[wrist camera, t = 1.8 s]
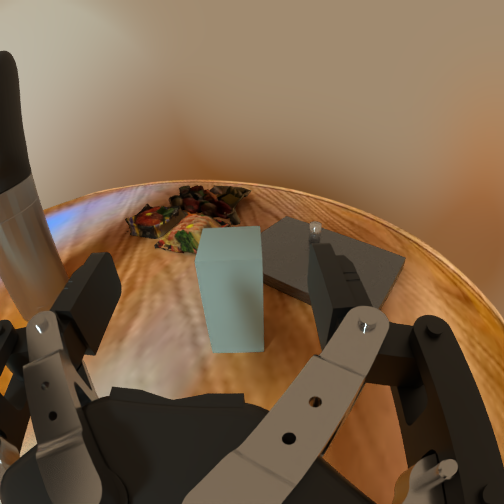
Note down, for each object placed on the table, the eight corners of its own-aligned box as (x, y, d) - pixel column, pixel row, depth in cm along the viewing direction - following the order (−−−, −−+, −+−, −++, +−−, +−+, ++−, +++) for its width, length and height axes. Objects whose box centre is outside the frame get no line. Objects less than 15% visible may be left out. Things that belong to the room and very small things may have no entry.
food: (186, 191, 65) (184, 176, 63) (265, 203, 58) (265, 186, 56) (115, 240, 48) (110, 222, 46) (204, 266, 42) (201, 245, 40)
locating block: (212, 352, 28) (194, 261, 22) (216, 316, 32) (202, 228, 26) (264, 351, 28) (262, 258, 22) (262, 315, 32) (259, 225, 26)
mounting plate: (227, 265, 40) (224, 239, 38) (286, 224, 49) (286, 202, 47) (367, 331, 29) (376, 303, 27) (403, 266, 38) (410, 242, 36)
